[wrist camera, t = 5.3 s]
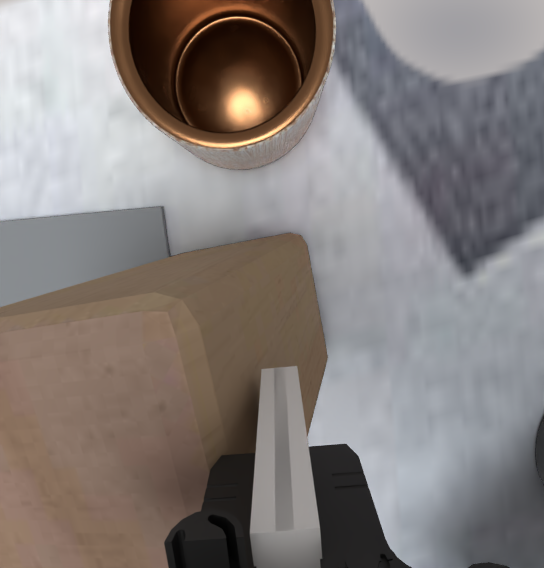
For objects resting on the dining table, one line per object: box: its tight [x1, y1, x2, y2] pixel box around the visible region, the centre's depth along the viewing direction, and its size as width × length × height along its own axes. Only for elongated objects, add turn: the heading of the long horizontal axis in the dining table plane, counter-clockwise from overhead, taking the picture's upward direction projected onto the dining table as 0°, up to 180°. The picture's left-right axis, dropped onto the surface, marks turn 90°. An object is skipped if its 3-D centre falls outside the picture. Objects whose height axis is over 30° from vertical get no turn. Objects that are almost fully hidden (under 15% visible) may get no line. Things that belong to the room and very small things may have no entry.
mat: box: [0, 206, 170, 307], centre depth 31 cm, size 20×16×1 cm
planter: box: [108, 0, 336, 170], centre depth 24 cm, size 11×11×10 cm
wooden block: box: [0, 233, 328, 568], centre depth 20 cm, size 10×10×20 cm
